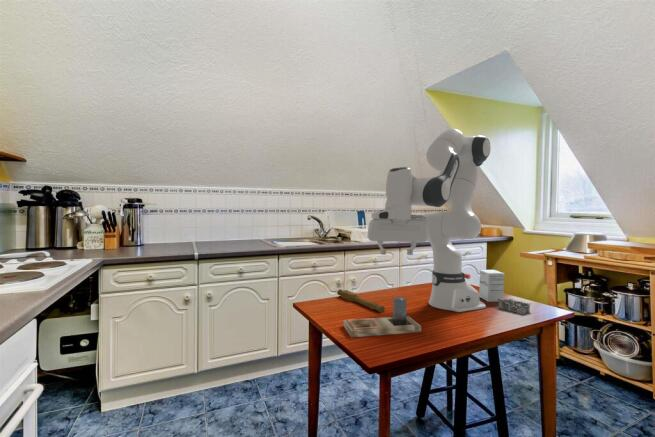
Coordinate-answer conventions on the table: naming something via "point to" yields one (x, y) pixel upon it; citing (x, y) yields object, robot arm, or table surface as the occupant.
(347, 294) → the turned wooden spindle
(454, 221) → the robot arm
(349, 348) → the table surface
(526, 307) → the egg carton
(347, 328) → the beige flat frame
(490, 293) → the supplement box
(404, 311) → the steel peg
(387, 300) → the table surface
